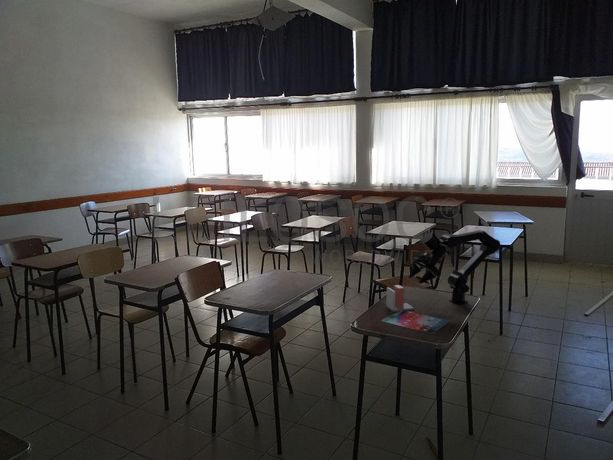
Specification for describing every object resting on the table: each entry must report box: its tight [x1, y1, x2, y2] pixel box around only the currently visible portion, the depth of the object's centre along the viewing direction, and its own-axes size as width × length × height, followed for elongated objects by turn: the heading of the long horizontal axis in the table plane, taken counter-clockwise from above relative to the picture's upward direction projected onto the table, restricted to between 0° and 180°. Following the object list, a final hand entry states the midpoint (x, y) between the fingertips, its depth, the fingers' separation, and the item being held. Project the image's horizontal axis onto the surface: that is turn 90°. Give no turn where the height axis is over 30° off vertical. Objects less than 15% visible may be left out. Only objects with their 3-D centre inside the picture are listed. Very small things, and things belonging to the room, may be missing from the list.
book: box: [392, 284, 405, 309], centre depth 228 cm, size 3×5×10 cm, turn 17°
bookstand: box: [385, 287, 415, 313], centre depth 229 cm, size 11×7×10 cm, turn 106°
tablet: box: [380, 310, 450, 336], centre depth 213 cm, size 19×25×1 cm
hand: (414, 280), depth 229 cm, fingers open, 9 cm apart
